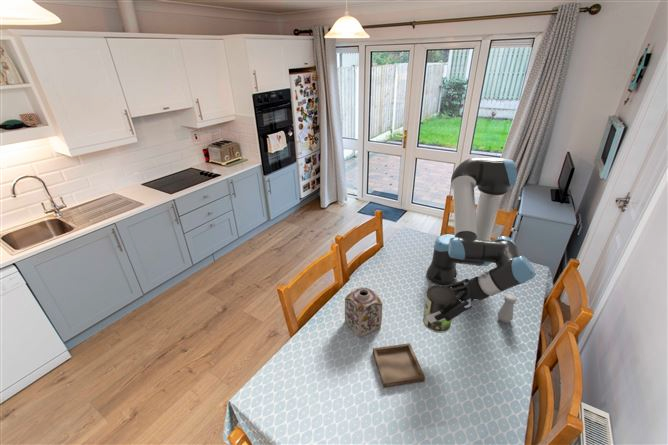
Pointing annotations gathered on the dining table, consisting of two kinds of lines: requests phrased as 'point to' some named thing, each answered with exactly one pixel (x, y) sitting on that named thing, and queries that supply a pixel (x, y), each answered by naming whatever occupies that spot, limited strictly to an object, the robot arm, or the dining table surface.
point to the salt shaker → (507, 309)
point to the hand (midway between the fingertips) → (429, 309)
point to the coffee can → (438, 307)
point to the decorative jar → (363, 311)
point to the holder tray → (397, 365)
